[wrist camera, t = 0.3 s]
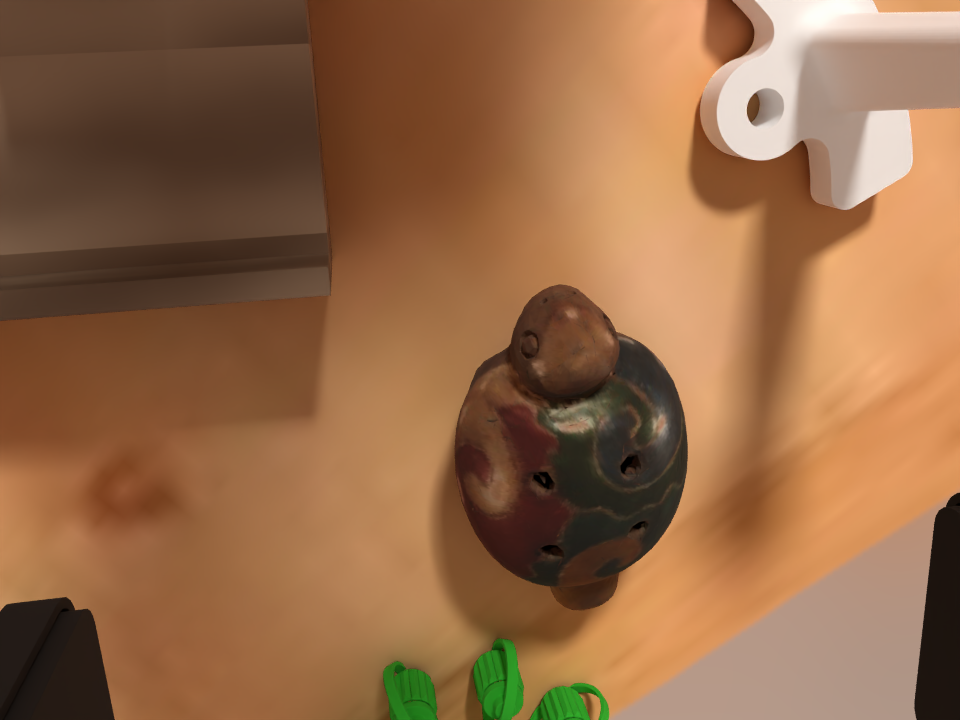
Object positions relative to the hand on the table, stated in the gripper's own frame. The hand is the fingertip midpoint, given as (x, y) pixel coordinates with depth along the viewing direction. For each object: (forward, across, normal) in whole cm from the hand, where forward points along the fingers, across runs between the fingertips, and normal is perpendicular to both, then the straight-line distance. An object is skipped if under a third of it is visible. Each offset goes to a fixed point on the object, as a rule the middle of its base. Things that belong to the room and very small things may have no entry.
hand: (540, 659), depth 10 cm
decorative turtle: (+29, -6, +9) cm, 31 cm away
